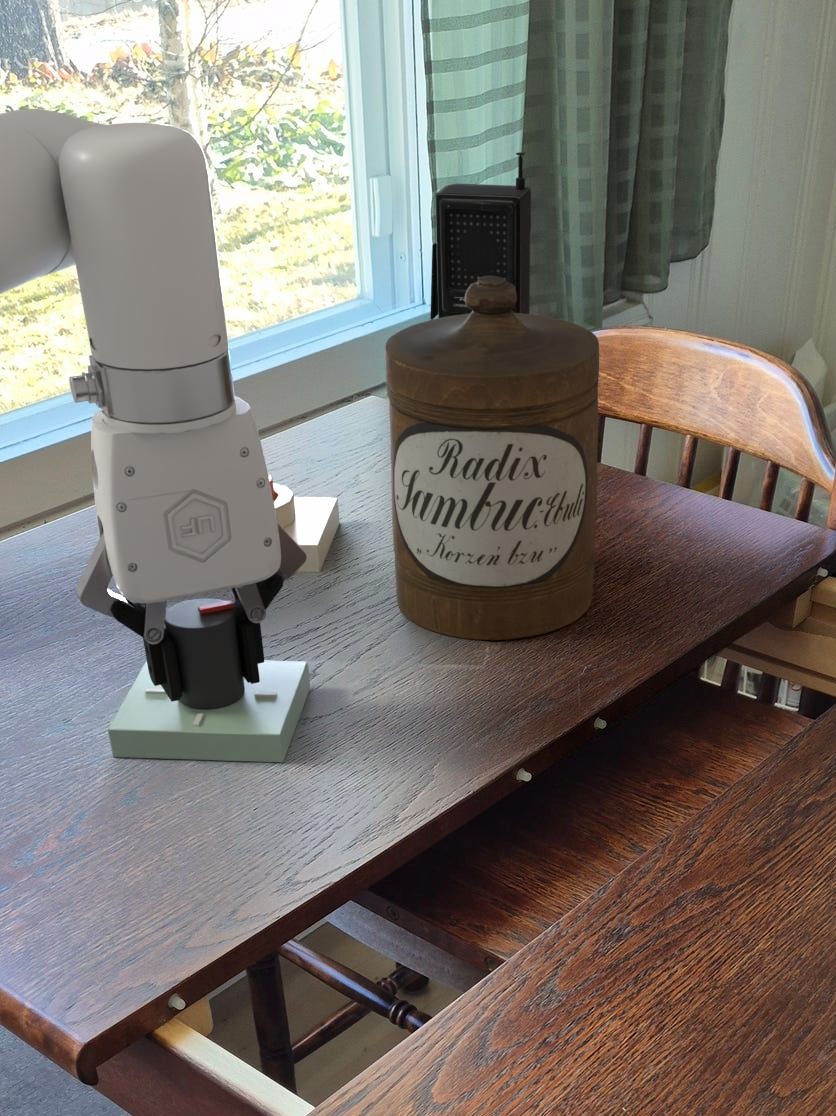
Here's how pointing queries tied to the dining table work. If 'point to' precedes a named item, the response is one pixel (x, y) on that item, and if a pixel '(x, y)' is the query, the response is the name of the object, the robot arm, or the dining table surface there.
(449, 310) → the portable radio
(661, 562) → the dining table surface
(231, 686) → the dial
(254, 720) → the panel
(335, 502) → the block
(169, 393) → the robot arm
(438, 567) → the wooden container
